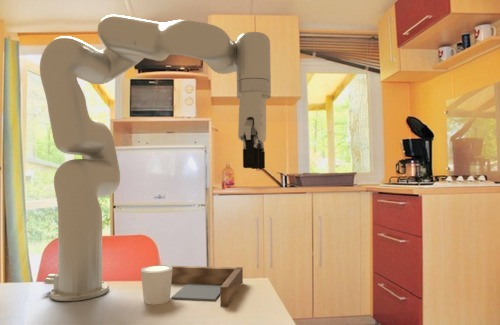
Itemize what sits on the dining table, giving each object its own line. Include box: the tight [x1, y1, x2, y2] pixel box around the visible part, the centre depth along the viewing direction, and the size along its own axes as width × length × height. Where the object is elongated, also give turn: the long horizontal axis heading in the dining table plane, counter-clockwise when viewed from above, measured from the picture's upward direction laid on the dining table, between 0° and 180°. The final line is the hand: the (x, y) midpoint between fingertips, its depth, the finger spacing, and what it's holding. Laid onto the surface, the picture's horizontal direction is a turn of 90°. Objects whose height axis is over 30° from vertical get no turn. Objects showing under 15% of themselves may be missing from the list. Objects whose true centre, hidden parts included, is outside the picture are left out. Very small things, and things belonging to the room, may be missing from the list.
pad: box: [170, 283, 222, 302], centre depth 87 cm, size 10×10×1 cm
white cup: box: [140, 264, 173, 305], centre depth 83 cm, size 7×7×7 cm
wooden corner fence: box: [170, 265, 244, 308], centre depth 88 cm, size 19×17×4 cm
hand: (254, 168), depth 81 cm, fingers open, 9 cm apart
